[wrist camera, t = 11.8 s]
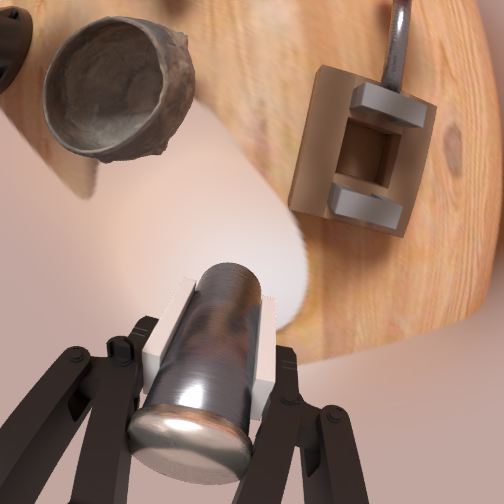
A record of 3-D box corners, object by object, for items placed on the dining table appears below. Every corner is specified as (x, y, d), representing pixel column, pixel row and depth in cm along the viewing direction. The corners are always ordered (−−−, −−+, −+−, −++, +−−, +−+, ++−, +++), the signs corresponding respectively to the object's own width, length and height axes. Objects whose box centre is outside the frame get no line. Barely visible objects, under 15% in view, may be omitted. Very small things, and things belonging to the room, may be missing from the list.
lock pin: (356, 109, 25) (381, 102, 19) (378, -29, 18) (399, -58, 12) (389, 120, 25) (420, 118, 19) (408, -17, 18) (434, -42, 12)
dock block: (287, 200, 31) (292, 222, 24) (316, 73, 26) (330, 53, 19) (389, 226, 32) (419, 253, 24) (419, 108, 26) (458, 104, 19)
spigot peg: (192, 311, 20) (130, 465, 9) (200, 252, 18) (116, 406, 7) (256, 325, 20) (239, 491, 9) (271, 268, 18) (265, 441, 7)
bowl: (186, 169, 31) (150, 185, 22) (73, 140, 30) (17, 148, 21) (226, 47, 26) (205, 13, 16) (104, 32, 25) (55, 10, 16)
